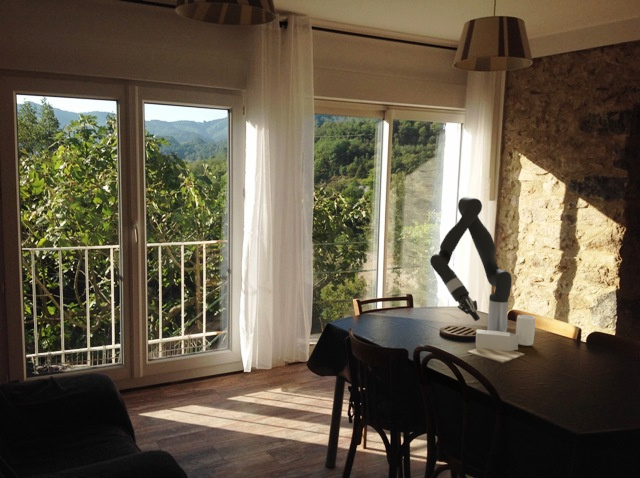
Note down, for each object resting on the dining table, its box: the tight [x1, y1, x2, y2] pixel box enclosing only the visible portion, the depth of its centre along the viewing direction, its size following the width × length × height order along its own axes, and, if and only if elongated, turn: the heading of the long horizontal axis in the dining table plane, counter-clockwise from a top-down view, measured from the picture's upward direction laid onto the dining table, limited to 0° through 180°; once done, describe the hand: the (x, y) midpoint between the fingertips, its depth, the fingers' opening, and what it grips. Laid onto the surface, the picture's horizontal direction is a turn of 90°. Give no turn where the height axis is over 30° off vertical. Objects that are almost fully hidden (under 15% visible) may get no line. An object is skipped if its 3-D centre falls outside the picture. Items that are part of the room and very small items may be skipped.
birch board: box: [467, 347, 525, 364], centre depth 256 cm, size 18×18×1 cm
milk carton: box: [475, 329, 519, 351], centre depth 263 cm, size 7×7×19 cm
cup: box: [515, 314, 536, 346], centre depth 270 cm, size 8×8×14 cm
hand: (477, 319), depth 261 cm, fingers closed
